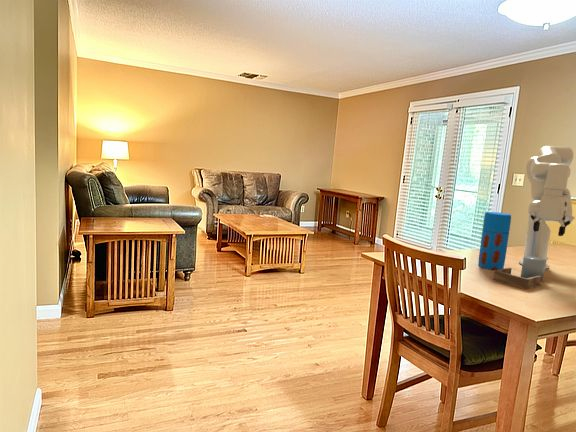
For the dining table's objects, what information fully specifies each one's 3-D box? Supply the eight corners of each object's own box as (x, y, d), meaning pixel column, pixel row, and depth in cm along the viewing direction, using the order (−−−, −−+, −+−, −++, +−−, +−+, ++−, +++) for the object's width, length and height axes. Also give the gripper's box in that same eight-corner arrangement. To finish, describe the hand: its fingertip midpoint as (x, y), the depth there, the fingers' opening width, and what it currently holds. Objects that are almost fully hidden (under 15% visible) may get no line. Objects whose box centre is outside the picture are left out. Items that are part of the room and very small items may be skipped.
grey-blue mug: (532, 274, 181) (535, 254, 180) (551, 279, 174) (555, 258, 173) (516, 277, 173) (519, 257, 172) (536, 283, 167) (540, 261, 165)
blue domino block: (506, 271, 183) (515, 216, 179) (481, 268, 185) (488, 213, 181) (499, 265, 193) (507, 213, 190) (475, 263, 195) (482, 211, 192)
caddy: (507, 276, 174) (509, 267, 173) (540, 285, 163) (542, 275, 163) (492, 280, 167) (494, 270, 166) (526, 289, 156) (527, 279, 156)
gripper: (581, 195, 167) (574, 237, 170) (536, 191, 181) (531, 229, 184) (574, 196, 163) (566, 238, 165) (528, 191, 177) (522, 230, 179)
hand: (548, 233), depth 175 cm, fingers open, 9 cm apart
